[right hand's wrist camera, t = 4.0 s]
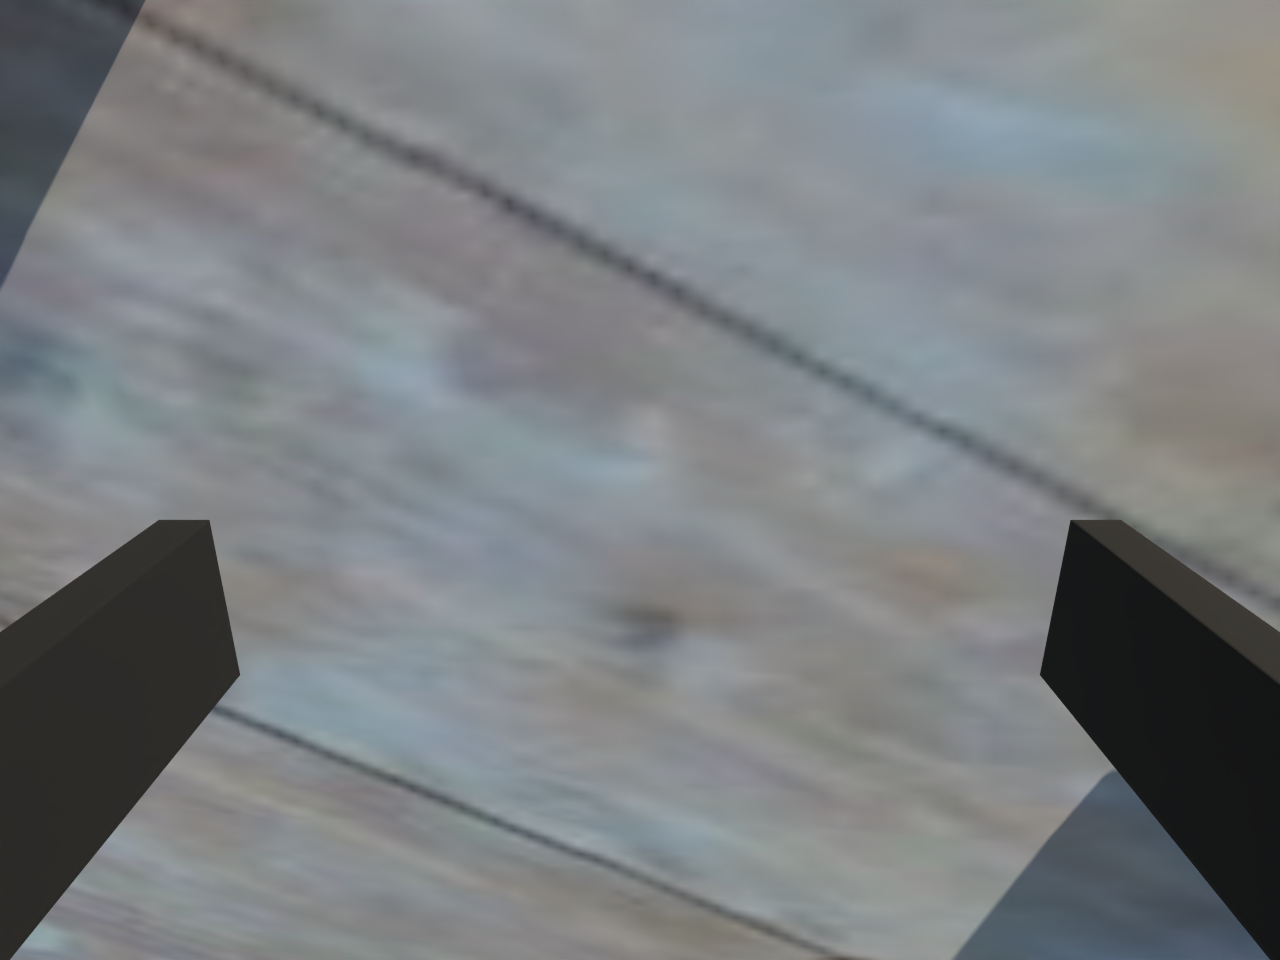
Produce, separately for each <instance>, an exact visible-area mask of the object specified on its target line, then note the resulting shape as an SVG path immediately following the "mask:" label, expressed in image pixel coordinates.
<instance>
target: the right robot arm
mask: <svg viewBox="0 0 1280 960" xmlns="http://www.w3.org/2000/svg"><path fill="white" fill-rule="evenodd" d="M239 676H240V672H239V667H238V662H237V657H236V652H235V647H234V642H233V637H232V632H231V627H230V622H229V617H228V612H227V607H226V602H225V597H224V592H223V586H222V581H221V576H220V571H219V566H218V561H217V556H216V551H215V546H214V541H213V536H212V531H211V526H210V521H209V520H158V521H157V522H156V523H154V524H153V525H151V526H150V527H148V528H147V529H146V530H144V531H143V532H141V533H140V534H139V535H137V536H136V537H134V538H133V539H132V540H130V541H129V542H127V543H126V544H124V545H123V546H122V547H120V548H119V549H117V550H116V551H115V552H113V553H112V554H110V555H109V556H107V557H106V558H105V559H103V560H102V561H100V562H99V563H98V564H96V565H95V566H93V567H92V568H90V569H89V570H88V571H86V572H85V573H83V574H82V575H81V576H79V577H78V578H76V579H75V580H73V581H72V582H71V583H69V584H68V585H66V586H65V587H64V588H62V589H61V590H59V591H58V592H57V593H55V594H54V595H52V596H51V597H49V598H48V599H47V600H45V601H44V602H42V603H41V604H40V605H38V606H37V607H35V608H34V609H32V610H31V611H30V612H28V613H27V614H25V615H24V616H23V617H21V618H20V619H18V620H17V621H15V622H14V623H13V624H11V625H10V626H8V627H7V628H6V629H4V630H3V631H1V632H0V960H10V959H11V958H12V956H13V955H14V954H15V953H16V951H17V950H18V949H19V948H20V946H21V945H22V944H23V943H24V941H25V940H26V939H27V938H28V937H29V935H30V934H31V933H32V932H33V930H34V929H35V928H36V927H37V925H38V924H39V923H40V922H41V920H42V919H43V918H44V917H45V915H46V914H47V913H48V912H49V911H50V909H51V908H52V907H53V906H54V904H55V903H56V902H57V901H58V899H59V898H60V897H61V896H62V894H63V893H64V892H65V891H66V890H67V888H68V887H69V886H70V885H71V883H72V882H73V881H74V880H75V878H76V877H77V876H78V875H79V873H80V872H81V871H82V870H83V868H84V867H85V866H86V865H87V864H88V862H89V861H90V860H91V859H92V857H93V856H94V855H95V854H96V852H97V851H98V850H99V849H100V847H101V846H102V845H103V844H104V843H105V841H106V840H107V839H108V838H109V836H110V835H111V834H112V833H113V831H114V830H115V829H116V828H117V826H118V825H119V824H120V823H121V821H122V820H123V819H124V818H125V817H126V815H127V814H128V813H129V812H130V810H131V809H132V808H133V807H134V805H135V804H136V803H137V802H138V800H139V799H140V798H141V797H142V795H143V794H144V793H145V792H146V791H147V789H148V788H149V787H150V786H151V784H152V783H153V782H154V781H155V779H156V778H157V777H158V776H159V774H160V773H161V772H162V771H163V770H164V768H165V767H166V766H167V765H168V763H169V762H170V761H171V760H172V758H173V757H174V756H175V755H176V753H177V752H178V751H179V750H180V748H181V747H182V746H183V745H184V744H185V742H186V741H187V740H188V739H189V737H190V736H191V735H192V734H193V732H194V731H195V730H196V729H197V727H198V726H199V725H200V724H201V723H202V721H203V720H204V719H205V718H206V716H207V715H208V714H209V713H210V711H211V710H212V709H213V708H214V706H215V705H216V704H217V703H218V701H219V700H220V699H221V698H222V697H223V695H224V694H225V693H226V692H227V690H228V689H229V688H230V687H231V685H232V684H233V683H234V682H235V680H236V679H237V678H238V677H239ZM1040 676H1041V677H1042V678H1043V679H1044V680H1045V682H1046V683H1047V684H1048V685H1049V687H1050V688H1051V689H1052V690H1053V692H1054V693H1055V694H1056V695H1057V697H1058V698H1059V699H1060V700H1061V701H1062V703H1063V704H1064V705H1065V706H1066V708H1067V709H1068V710H1069V711H1070V713H1071V714H1072V715H1073V716H1074V718H1075V719H1076V720H1077V721H1078V723H1079V724H1080V725H1081V726H1082V727H1083V729H1084V730H1085V731H1086V732H1087V734H1088V735H1089V736H1090V737H1091V739H1092V740H1093V741H1094V742H1095V744H1096V745H1097V746H1098V747H1099V748H1100V750H1101V751H1102V752H1103V753H1104V755H1105V756H1106V757H1107V758H1108V760H1109V761H1110V762H1111V763H1112V765H1113V766H1114V767H1115V768H1116V770H1117V771H1118V772H1119V773H1120V774H1121V776H1122V777H1123V778H1124V779H1125V781H1126V782H1127V783H1128V784H1129V786H1130V787H1131V788H1132V789H1133V791H1134V792H1135V793H1136V794H1137V796H1138V797H1139V798H1140V799H1141V800H1142V802H1143V803H1144V804H1145V805H1146V807H1147V808H1148V809H1149V810H1150V812H1151V813H1152V814H1153V815H1154V817H1155V818H1156V819H1157V820H1158V821H1159V823H1160V824H1161V825H1162V826H1163V828H1164V829H1165V830H1166V831H1167V833H1168V834H1169V835H1170V836H1171V838H1172V839H1173V840H1174V841H1175V843H1176V844H1177V845H1178V846H1179V847H1180V849H1181V850H1182V851H1183V852H1184V854H1185V855H1186V856H1187V857H1188V859H1189V860H1190V861H1191V862H1192V864H1193V865H1194V866H1195V867H1196V868H1197V870H1198V871H1199V872H1200V873H1201V875H1202V876H1203V877H1204V878H1205V880H1206V881H1207V882H1208V883H1209V885H1210V886H1211V887H1212V888H1213V890H1214V891H1215V892H1216V893H1217V894H1218V896H1219V897H1220V898H1221V899H1222V901H1223V902H1224V903H1225V904H1226V906H1227V907H1228V908H1229V909H1230V911H1231V912H1232V913H1233V914H1234V915H1235V917H1236V918H1237V919H1238V920H1239V922H1240V923H1241V924H1242V925H1243V927H1244V928H1245V929H1246V930H1247V932H1248V933H1249V934H1250V935H1251V937H1252V938H1253V939H1254V940H1255V941H1256V943H1257V944H1258V945H1259V946H1260V948H1261V949H1262V950H1263V951H1264V953H1265V954H1266V955H1267V956H1268V958H1269V959H1270V960H1280V632H1279V631H1277V630H1276V629H1274V628H1273V627H1272V626H1270V625H1269V624H1267V623H1266V622H1265V621H1263V620H1262V619H1260V618H1259V617H1257V616H1256V615H1255V614H1253V613H1252V612H1250V611H1249V610H1248V609H1246V608H1245V607H1243V606H1242V605H1240V604H1239V603H1238V602H1236V601H1235V600H1233V599H1232V598H1231V597H1229V596H1228V595H1226V594H1225V593H1223V592H1222V591H1221V590H1219V589H1218V588H1216V587H1215V586H1214V585H1212V584H1211V583H1209V582H1208V581H1207V580H1205V579H1204V578H1202V577H1201V576H1199V575H1198V574H1197V573H1195V572H1194V571H1192V570H1191V569H1190V568H1188V567H1187V566H1185V565H1184V564H1182V563H1181V562H1180V561H1178V560H1177V559H1175V558H1174V557H1173V556H1171V555H1170V554H1168V553H1167V552H1165V551H1164V550H1163V549H1161V548H1160V547H1158V546H1157V545H1156V544H1154V543H1153V542H1151V541H1150V540H1148V539H1147V538H1146V537H1144V536H1143V535H1141V534H1140V533H1139V532H1137V531H1136V530H1134V529H1133V528H1132V527H1130V526H1129V525H1127V524H1126V523H1124V522H1123V521H1122V520H1071V521H1070V526H1069V531H1068V536H1067V541H1066V546H1065V551H1064V556H1063V561H1062V566H1061V571H1060V576H1059V581H1058V586H1057V592H1056V597H1055V602H1054V607H1053V612H1052V617H1051V622H1050V627H1049V632H1048V637H1047V642H1046V647H1045V652H1044V657H1043V662H1042V667H1041V672H1040Z"/></svg>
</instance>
